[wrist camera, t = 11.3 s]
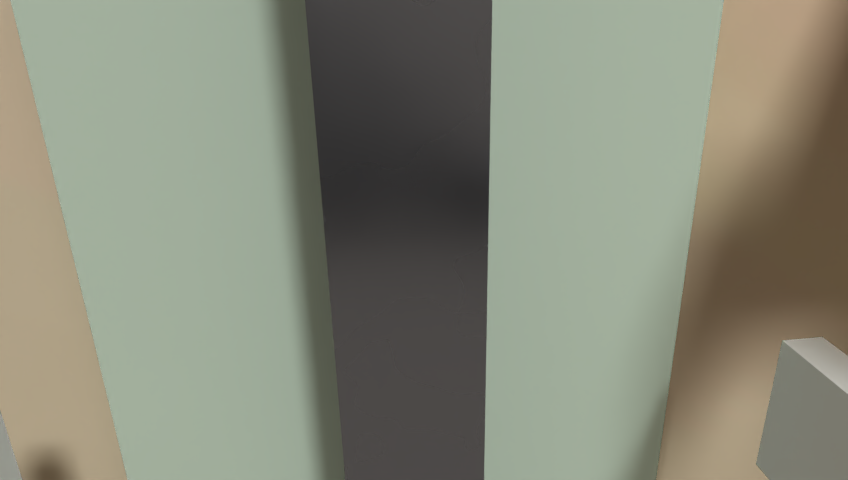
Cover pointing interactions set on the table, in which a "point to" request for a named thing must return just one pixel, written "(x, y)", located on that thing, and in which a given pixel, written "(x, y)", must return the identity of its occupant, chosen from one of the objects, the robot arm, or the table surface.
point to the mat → (305, 239)
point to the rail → (406, 228)
